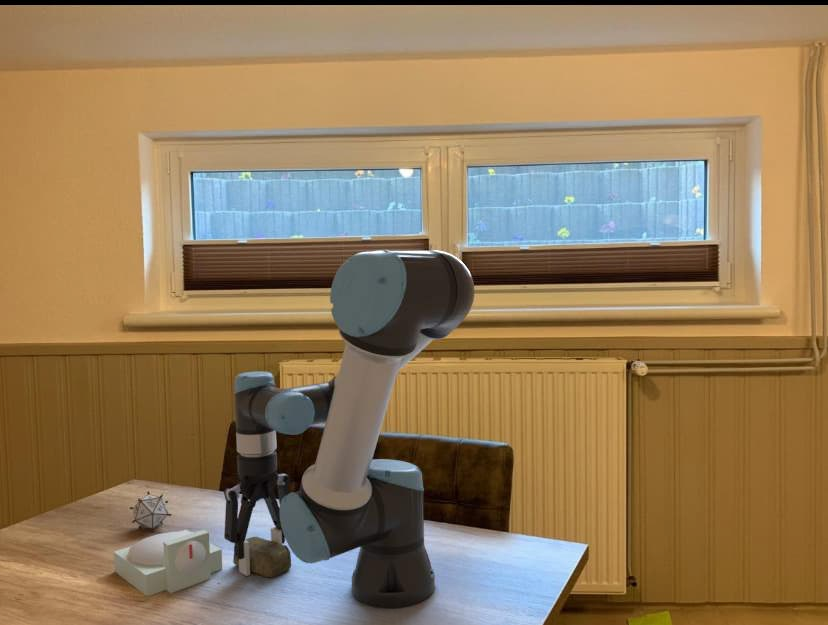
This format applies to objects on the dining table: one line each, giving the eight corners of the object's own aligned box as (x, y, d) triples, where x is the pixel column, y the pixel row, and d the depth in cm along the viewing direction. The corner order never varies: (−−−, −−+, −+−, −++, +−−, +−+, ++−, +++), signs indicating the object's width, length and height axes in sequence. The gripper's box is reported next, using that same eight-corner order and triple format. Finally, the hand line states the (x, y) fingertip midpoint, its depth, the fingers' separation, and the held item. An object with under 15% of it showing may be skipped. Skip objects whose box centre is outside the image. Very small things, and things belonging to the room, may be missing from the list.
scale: (229, 573, 131) (227, 527, 130) (153, 601, 120) (150, 552, 120) (186, 547, 143) (184, 506, 143) (114, 571, 133) (112, 526, 132)
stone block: (272, 581, 127) (270, 555, 127) (230, 567, 134) (229, 543, 134) (293, 569, 132) (292, 544, 132) (253, 557, 139) (252, 533, 138)
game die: (161, 542, 156) (185, 508, 155) (130, 542, 149) (155, 506, 148) (146, 515, 161) (169, 482, 160) (115, 514, 154) (139, 479, 153)
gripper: (288, 438, 141) (292, 546, 142) (200, 459, 127) (205, 577, 129) (309, 444, 135) (313, 556, 137) (220, 467, 122) (225, 590, 123)
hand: (261, 566), depth 133 cm, fingers open, 7 cm apart
